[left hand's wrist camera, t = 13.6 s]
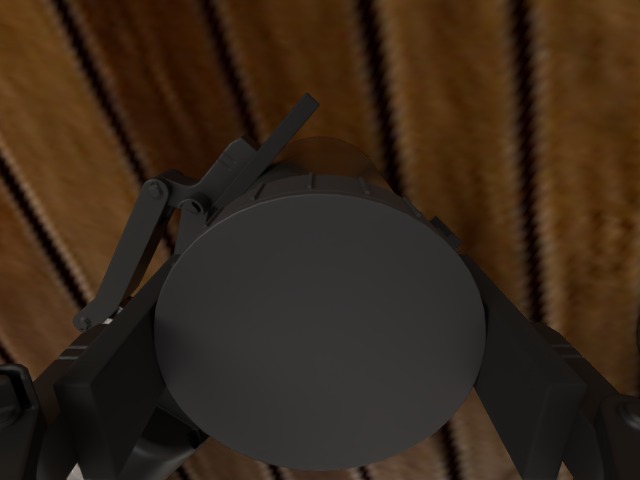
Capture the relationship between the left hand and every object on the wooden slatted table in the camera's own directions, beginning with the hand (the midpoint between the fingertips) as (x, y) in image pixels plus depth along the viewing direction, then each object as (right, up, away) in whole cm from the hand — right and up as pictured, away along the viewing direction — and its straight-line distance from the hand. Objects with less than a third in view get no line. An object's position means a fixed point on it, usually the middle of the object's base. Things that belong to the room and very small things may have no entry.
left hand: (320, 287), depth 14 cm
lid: (0, -1, -3) cm, 3 cm away
